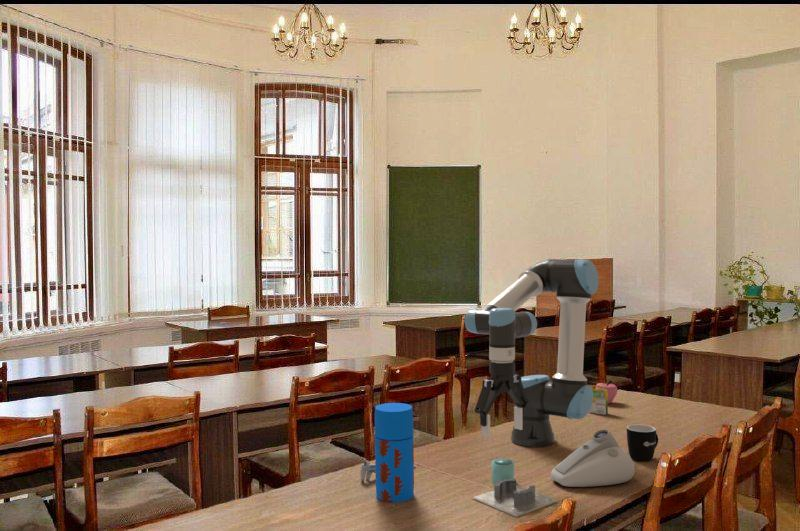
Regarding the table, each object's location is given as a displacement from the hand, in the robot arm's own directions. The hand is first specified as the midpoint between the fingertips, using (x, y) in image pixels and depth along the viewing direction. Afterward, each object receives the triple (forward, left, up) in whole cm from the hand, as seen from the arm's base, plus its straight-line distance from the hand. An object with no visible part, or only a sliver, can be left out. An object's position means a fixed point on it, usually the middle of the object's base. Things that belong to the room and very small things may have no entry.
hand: (502, 432), depth 200 cm
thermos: (-12, -31, -15) cm, 36 cm away
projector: (+15, +21, -15) cm, 30 cm away
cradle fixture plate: (+12, -8, -15) cm, 20 cm away
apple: (-39, +105, -15) cm, 113 cm away
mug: (+14, +51, -15) cm, 55 cm away
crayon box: (-31, +88, -15) cm, 95 cm away
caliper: (-27, -22, -15) cm, 38 cm away
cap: (0, 0, -15) cm, 15 cm away
